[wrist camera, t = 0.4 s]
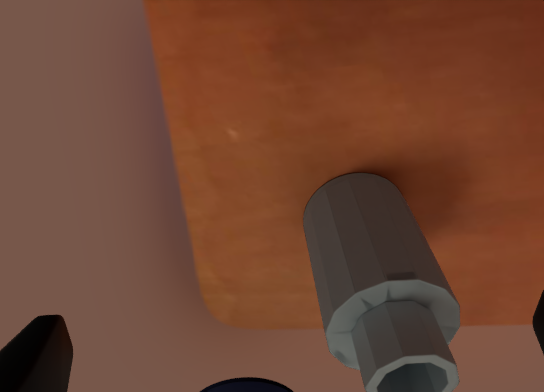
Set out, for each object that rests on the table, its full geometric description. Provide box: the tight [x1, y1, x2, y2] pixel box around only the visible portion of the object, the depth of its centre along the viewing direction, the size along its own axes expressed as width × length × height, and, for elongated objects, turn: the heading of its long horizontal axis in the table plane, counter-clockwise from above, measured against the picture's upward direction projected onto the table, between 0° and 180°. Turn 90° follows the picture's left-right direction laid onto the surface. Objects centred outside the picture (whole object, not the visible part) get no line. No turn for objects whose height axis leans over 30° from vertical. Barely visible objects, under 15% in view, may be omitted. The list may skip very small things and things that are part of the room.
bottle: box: [303, 173, 460, 392], centre depth 22 cm, size 5×5×10 cm
